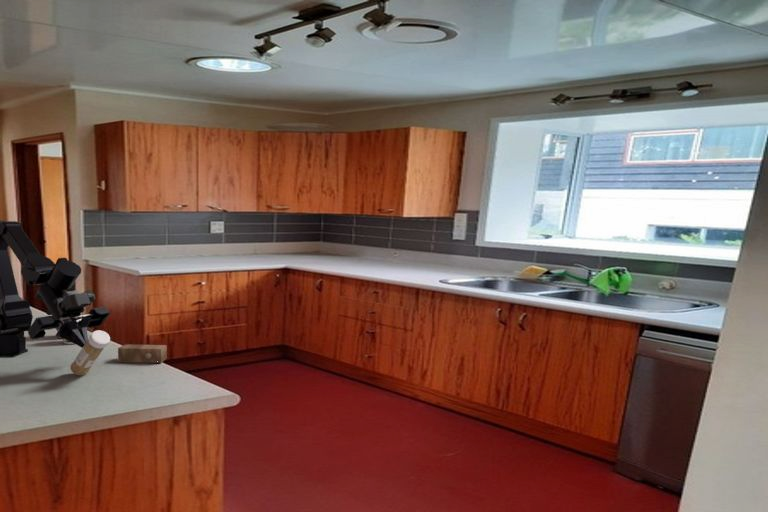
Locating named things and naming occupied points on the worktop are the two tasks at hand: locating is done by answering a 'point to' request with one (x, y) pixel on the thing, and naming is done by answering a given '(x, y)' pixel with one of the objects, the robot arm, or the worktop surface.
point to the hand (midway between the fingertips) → (86, 347)
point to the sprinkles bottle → (90, 352)
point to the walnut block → (142, 353)
